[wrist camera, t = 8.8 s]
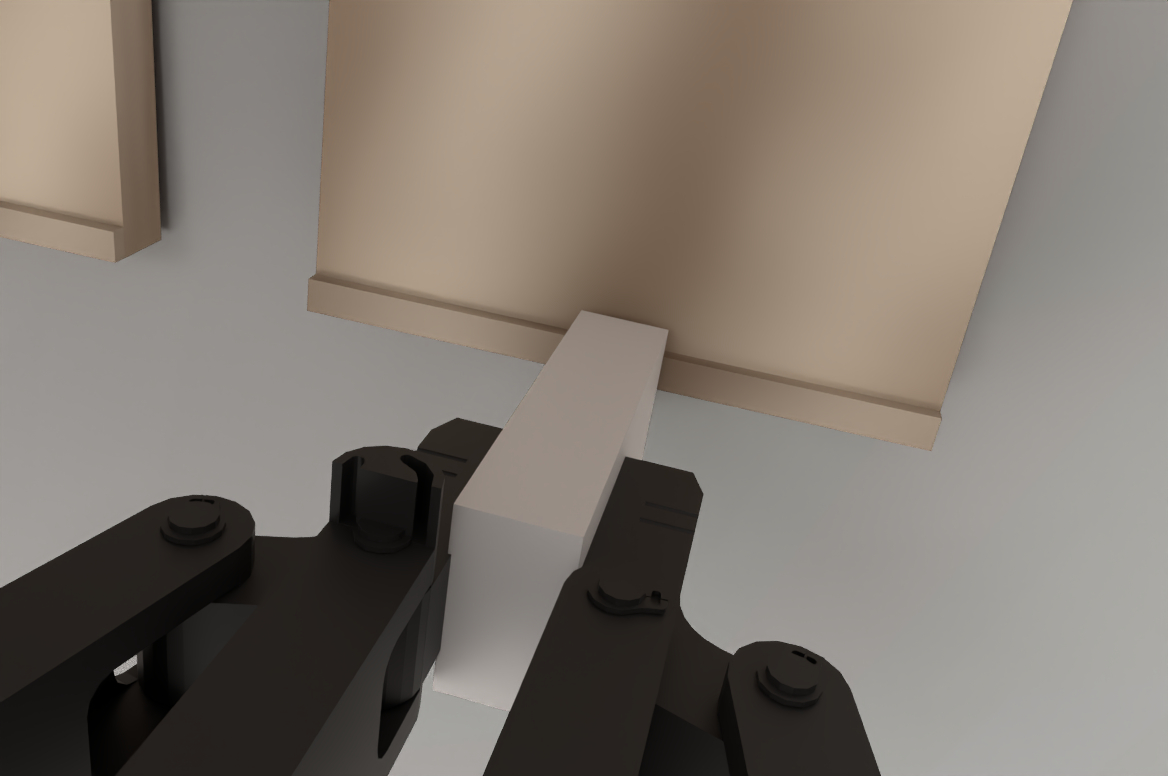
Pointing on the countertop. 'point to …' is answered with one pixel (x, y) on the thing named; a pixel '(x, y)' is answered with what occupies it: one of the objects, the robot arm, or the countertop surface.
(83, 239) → the plank
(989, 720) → the countertop surface
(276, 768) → the robot arm
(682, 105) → the plank
